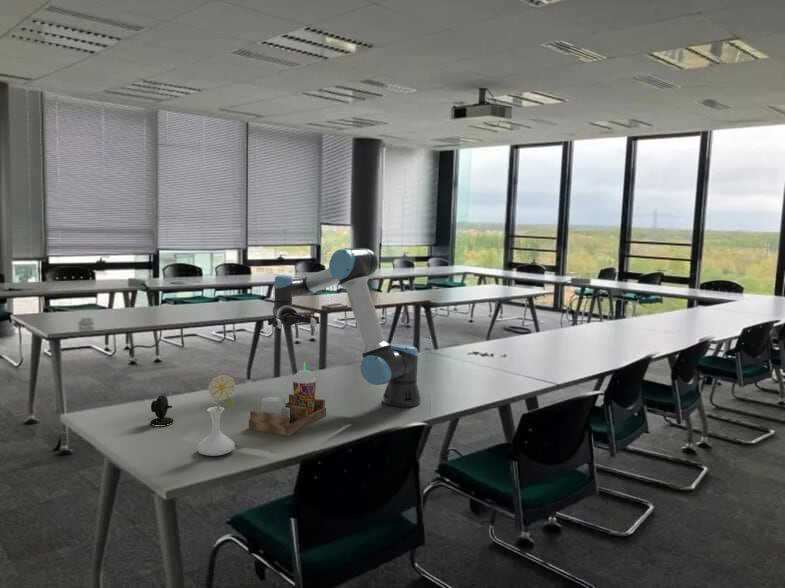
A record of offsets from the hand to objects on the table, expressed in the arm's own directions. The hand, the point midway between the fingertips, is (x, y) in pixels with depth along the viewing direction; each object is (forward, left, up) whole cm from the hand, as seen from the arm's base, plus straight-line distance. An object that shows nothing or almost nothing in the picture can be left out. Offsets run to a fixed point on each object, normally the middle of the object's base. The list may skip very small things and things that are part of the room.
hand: (297, 324), depth 239 cm
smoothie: (-12, +14, -31) cm, 36 cm away
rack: (-11, +22, -32) cm, 40 cm away
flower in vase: (-6, +53, -32) cm, 62 cm away
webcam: (+29, +41, -32) cm, 60 cm away
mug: (-9, +27, -31) cm, 42 cm away
